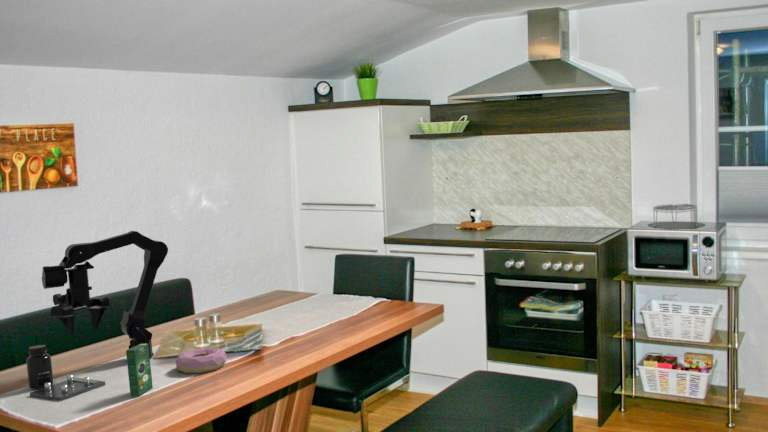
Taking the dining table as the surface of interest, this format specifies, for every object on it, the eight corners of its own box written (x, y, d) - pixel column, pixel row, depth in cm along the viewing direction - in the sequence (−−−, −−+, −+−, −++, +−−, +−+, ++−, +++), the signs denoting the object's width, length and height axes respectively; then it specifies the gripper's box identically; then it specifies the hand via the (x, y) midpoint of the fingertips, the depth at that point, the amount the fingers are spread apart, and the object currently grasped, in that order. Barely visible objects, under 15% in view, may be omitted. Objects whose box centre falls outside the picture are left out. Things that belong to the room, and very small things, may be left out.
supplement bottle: (44, 389, 233) (39, 349, 232) (24, 390, 235) (19, 350, 234) (58, 382, 240) (54, 343, 239) (38, 382, 242) (33, 344, 240)
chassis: (74, 380, 240) (73, 371, 240) (105, 384, 233) (104, 374, 233) (29, 396, 228) (28, 385, 228) (61, 401, 220) (59, 390, 220)
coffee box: (144, 387, 227) (139, 342, 226) (153, 387, 226) (148, 342, 225) (129, 397, 219) (124, 350, 218) (139, 396, 218) (134, 350, 217)
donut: (166, 372, 243) (164, 355, 242) (206, 359, 254) (205, 343, 254) (197, 378, 233) (195, 361, 232) (238, 364, 244) (236, 348, 244)
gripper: (84, 279, 262) (88, 326, 263) (36, 289, 245) (40, 339, 246) (108, 279, 257) (113, 327, 258) (61, 289, 240) (65, 340, 241)
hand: (83, 333), depth 251 cm, fingers open, 9 cm apart
